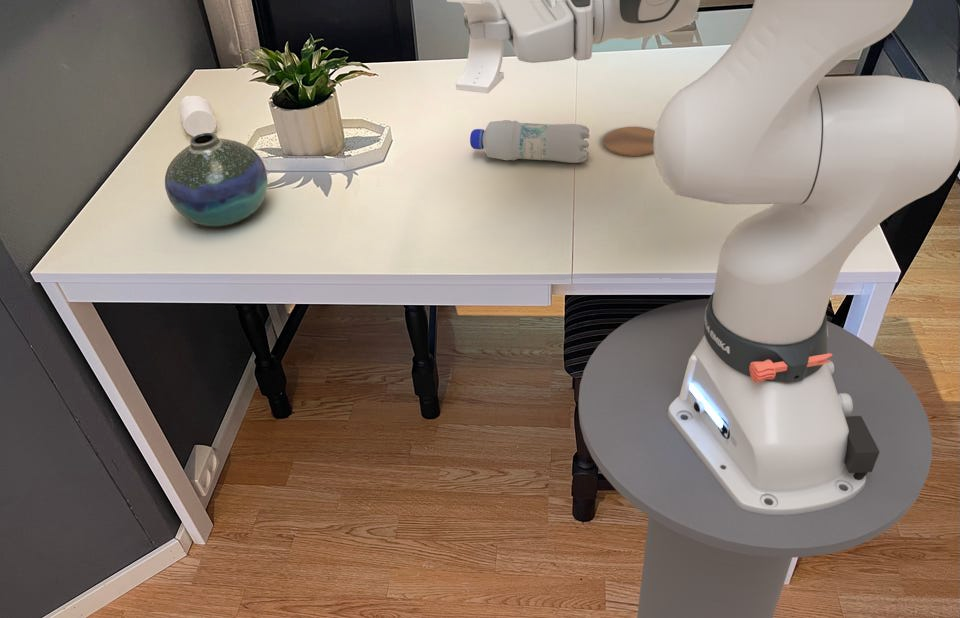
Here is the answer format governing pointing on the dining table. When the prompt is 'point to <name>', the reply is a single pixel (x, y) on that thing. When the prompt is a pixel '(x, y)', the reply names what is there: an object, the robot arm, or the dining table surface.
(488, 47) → the headphone stand
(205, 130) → the roll
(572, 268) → the dining table surface
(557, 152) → the bottle
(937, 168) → the robot arm
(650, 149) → the coaster
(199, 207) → the vase
